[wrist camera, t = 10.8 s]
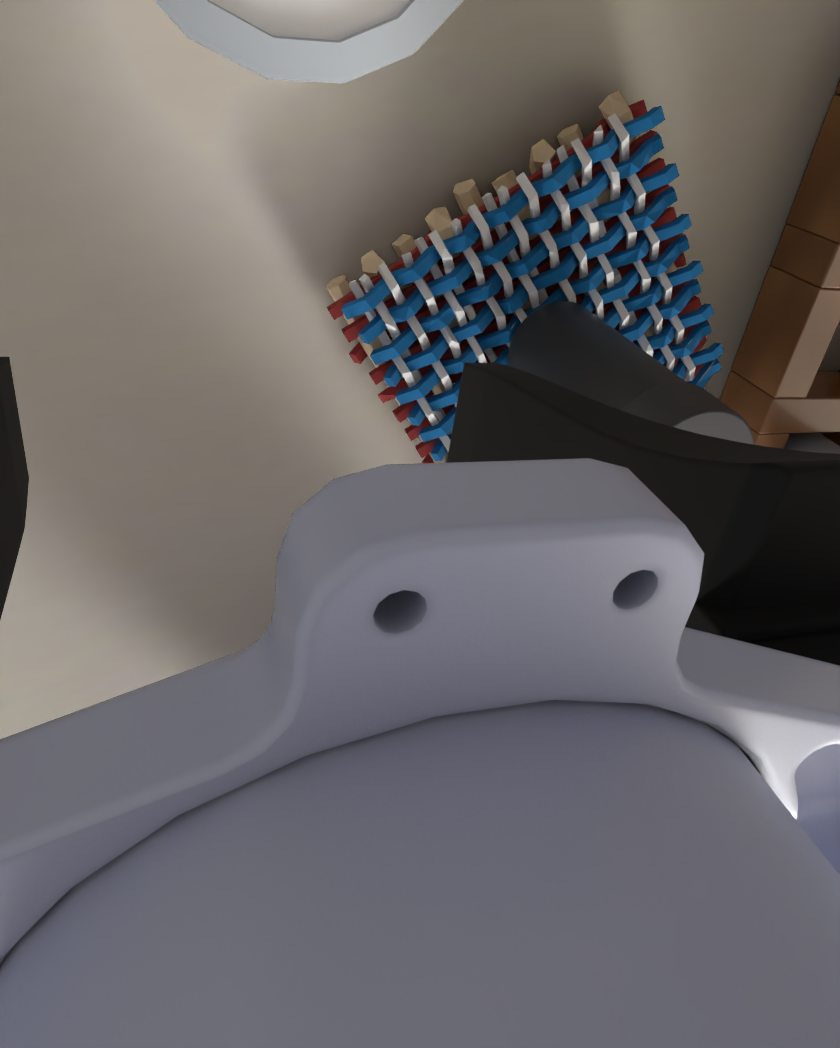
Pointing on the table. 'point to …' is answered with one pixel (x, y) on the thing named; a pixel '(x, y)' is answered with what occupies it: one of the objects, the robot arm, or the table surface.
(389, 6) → the white cylinder
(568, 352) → the cylinder
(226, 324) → the table surface
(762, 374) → the marker stand
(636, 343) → the woven mat
